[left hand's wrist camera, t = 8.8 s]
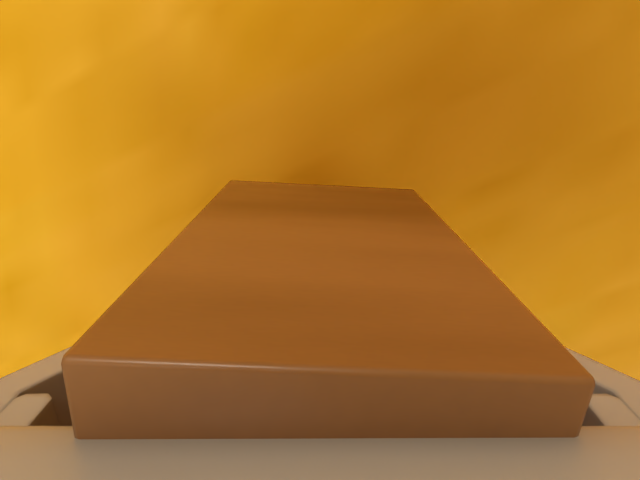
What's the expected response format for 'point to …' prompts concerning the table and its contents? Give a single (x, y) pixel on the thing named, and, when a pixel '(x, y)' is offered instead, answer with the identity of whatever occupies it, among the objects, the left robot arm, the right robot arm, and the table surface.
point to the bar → (321, 331)
